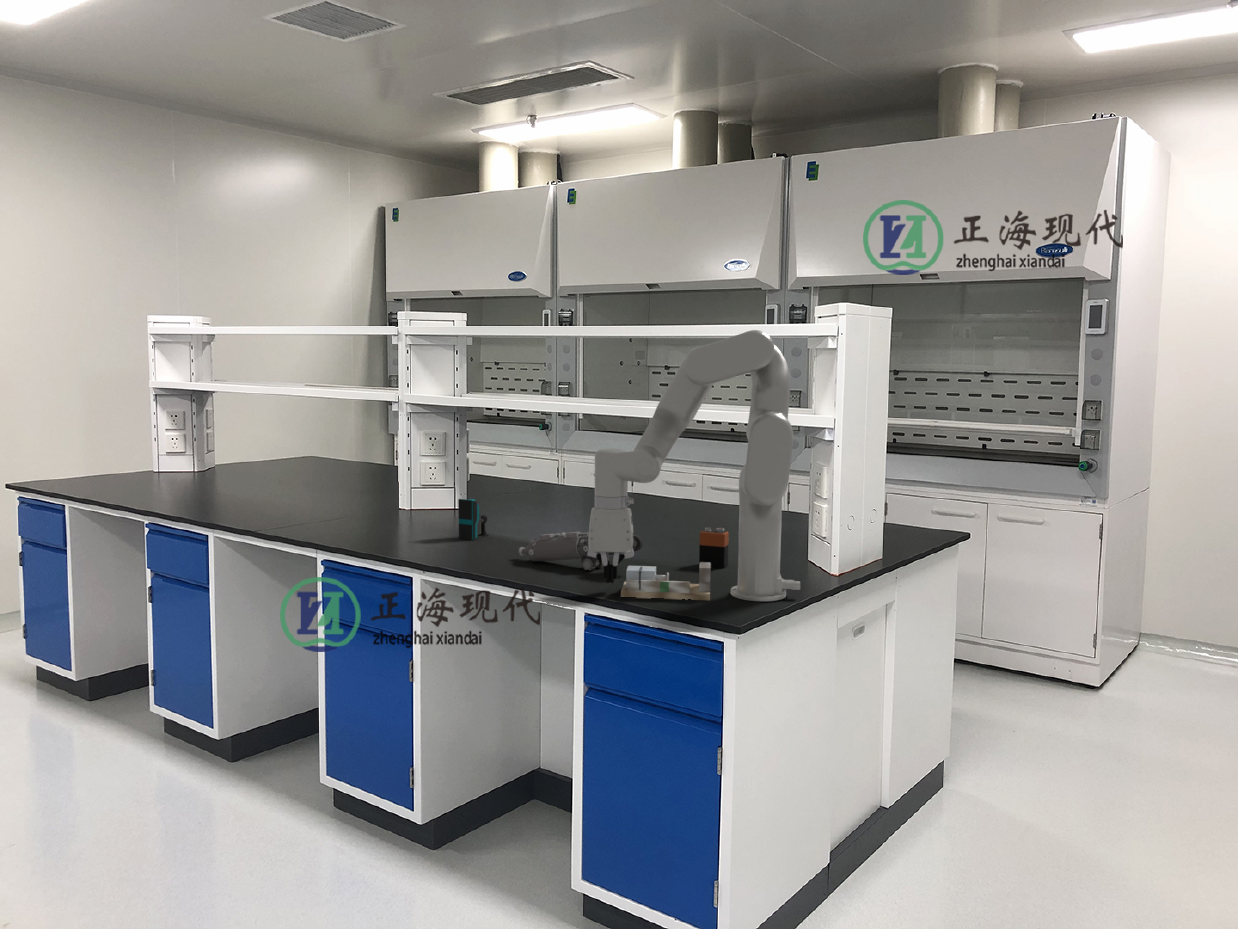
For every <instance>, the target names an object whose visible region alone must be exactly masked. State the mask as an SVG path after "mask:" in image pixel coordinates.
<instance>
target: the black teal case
mask: <svg viewBox="0 0 1238 929" xmlns="http://www.w3.org/2000/svg"><path fill="white" fill-rule="evenodd" d="M457 502H458V503H457V504H458V506H457V508H458V540H463V541H470V540H473V541H475V540H476V539H477V538H478V537H479V536H483V537H482V538H485V537H487V536H486V535H487V534H488V533H487V530H486V523H487V522H488V517H487V516H486V515H485V514H482V512H481V511H480V505H479V501H478V499H473V498H468V499H467V498H466V499H465V498H458V501H457ZM477 535H478V536H477ZM484 536H485V537H484Z"/></svg>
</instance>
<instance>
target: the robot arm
mask: <svg viewBox="0 0 1238 929" xmlns="http://www.w3.org/2000/svg"><path fill="white" fill-rule="evenodd" d="M786 360H787V359H786V358H785V357H784V355H783V353H782V351H781V350H780V349H779V347H777V345H775V344H774V341H773V338H771V336H770V335H768V333H766V332H764V331H762V330H758V329H752V330H748V331H745V332H742V333H739V334H736V335H733V336H730V337H727V338H724V339H721V340H718V341H715V342H711V343H707V344H704V345H700V346H696V347H693V348H692V349H691V350H690V351H689V352H688V353H687V354H686V355H685V357H684V359H683V360H682V362H681V364H680V366H679V368H678V370H677V371H676V373H675V375H674V377H673V378H672V380H670V381H671V382H670V383H669V385H668V387H667V388H666V390H665V391H664V393H663V395H662V397H661V398H660V400H659V402H658V404H657V406H656V408H655V410H654V413H653V416H652V418H651V420H650V421H649V423H648V425H647V427H646V429H645V430H644V432H643V433H642V435H641V438H640V439H639V441H638V442H637V443H636V446H635V448H634V449H633V450H631V451H626V450H625V449H620V448H602V449H601V448H600V449H599V450H597V451H596V452H595V454H594V507H592V508H591V511H590V516H589V523H588V524H589V525H588V536H589V537H588V547H589V549H588V553H587V555H588V556H591V557H594V558H597V559H598V560H599V561H600V562H601V563H602V564H603V579H606V580H605V581H606V584H609V583H611V584H614V582H615V580H617V579H618V565H620V563H621V562H622V561H623V560H625V559H630V558H633V557H634V555H635V551H633V535H634V523H633V515H632V508H630V507H628V506H631V505H634V504H635V503H634V501H635V498H631V497H630V496H629V495H628V482H633V483H640V484H648V483H652V482H653V481H655V480H656V479H657V478H658V477H659V476H660V474H661V471H662V470H661V469H662V466H663V464H664V462H665V460H666V458H667V457H668V455H669V453H670V452H671V450H672V448H673V447H674V445H675V443H676V442H677V440H678V438H679V437H680V436H681V434H682V433H683V432H684V431H685V430H686V429H687V428H688V427H689V426H690V424H691V423H692V421H693V420H694V418H695V416H696V415H697V413H698V411H699V410H700V408H701V406H702V405H703V403H704V401H705V399H706V398H707V396H708V394H709V393H710V391H711V389H712V387H713V386H714V384H715V383H719V382H722V381H726V380H729V379H732V378H736V377H739V376H743V375H745V374H750V377H751V384H752V385H751V392H750V395H751V397H750V406H749V414H748V419H747V420H748V421H747V426H746V430H745V431H746V433H745V434H746V437H747V441H748V442H747V452H746V459H745V460H746V461H745V464H744V465H743V466H742V468H741V470H740V472H739V477H738V500H739V501H738V503H739V505H738V506H739V507H738V509H739V511H738V512H739V515H738V516H739V517H738V543H737V544H738V547H737V548H738V549H737V550H738V551H737V552H738V553H737V585H734V586H731V588H730V595H731V596H732V597H734V598H736V599H739V600H744V601H749V602H750V601H751V602H775V601H780V600H783V599H785V598H786V596H787V590H792V591H793V590H796V591H797V590H798V591H800V590H801V581H800V580H799V581H797V580H794V579H784V578H782V575H781V573H780V572H781V547H782V546H781V542H782V541H781V540H782V520H783V519H782V516H783V514H782V513H783V512H782V511H783V510H782V508H783V507H782V499H783V498H784V496H785V494H786V492H787V489H788V487H789V486H788V485H789V478H790V472H791V463H792V455H793V447H794V446H793V445H794V430H793V427H792V426H793V425H792V424H791V422H790V420H789V419H788V418H789V411H790V410H789V409H790V396H791V395H790V394H791V372H790V369H789V365H788V363H787V361H786ZM600 552H601V553H600ZM608 553H614V555H613V559H612V561H611V562H610V560H609V554H608ZM620 553H621V554H620Z"/></svg>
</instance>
